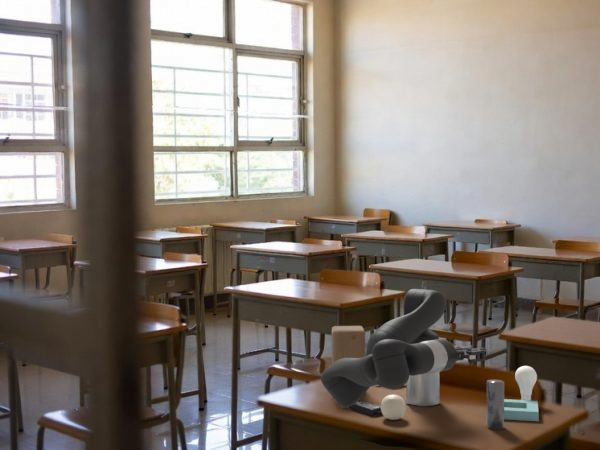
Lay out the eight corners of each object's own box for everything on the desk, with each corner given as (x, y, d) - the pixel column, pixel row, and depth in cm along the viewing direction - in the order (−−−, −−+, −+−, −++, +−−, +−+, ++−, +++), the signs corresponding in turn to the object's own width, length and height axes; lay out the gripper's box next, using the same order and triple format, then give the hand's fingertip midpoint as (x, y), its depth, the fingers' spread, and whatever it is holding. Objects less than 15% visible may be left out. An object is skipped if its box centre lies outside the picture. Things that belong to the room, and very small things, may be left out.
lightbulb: (538, 406, 227) (537, 368, 226) (515, 406, 228) (515, 367, 228) (536, 401, 233) (535, 364, 232) (514, 400, 234) (514, 363, 234)
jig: (492, 418, 215) (492, 409, 215) (493, 407, 227) (493, 398, 227) (538, 421, 212) (538, 412, 212) (537, 409, 224) (537, 400, 224)
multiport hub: (359, 407, 230) (359, 399, 230) (384, 415, 222) (384, 407, 221) (347, 409, 228) (347, 401, 228) (372, 417, 219) (372, 409, 219)
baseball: (407, 416, 219) (407, 392, 219) (404, 423, 212) (404, 398, 212) (382, 414, 221) (382, 390, 220) (379, 422, 213) (379, 397, 213)
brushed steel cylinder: (486, 429, 206) (486, 383, 205) (487, 424, 210) (486, 379, 210) (504, 430, 205) (503, 383, 204) (504, 425, 209) (504, 380, 208)
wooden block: (365, 395, 242) (365, 330, 241) (333, 396, 242) (332, 330, 241) (363, 388, 252) (363, 325, 251) (332, 388, 252) (331, 325, 251)
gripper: (407, 368, 190) (444, 361, 202) (459, 376, 181) (495, 369, 193) (408, 337, 191) (445, 332, 202) (459, 343, 181) (495, 338, 193)
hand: (469, 350), depth 197 cm, fingers open, 8 cm apart
